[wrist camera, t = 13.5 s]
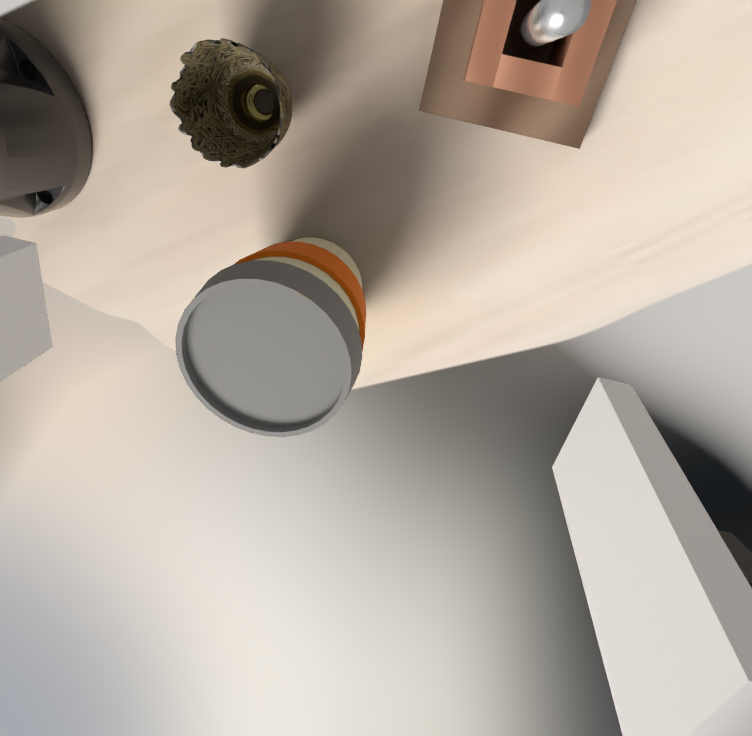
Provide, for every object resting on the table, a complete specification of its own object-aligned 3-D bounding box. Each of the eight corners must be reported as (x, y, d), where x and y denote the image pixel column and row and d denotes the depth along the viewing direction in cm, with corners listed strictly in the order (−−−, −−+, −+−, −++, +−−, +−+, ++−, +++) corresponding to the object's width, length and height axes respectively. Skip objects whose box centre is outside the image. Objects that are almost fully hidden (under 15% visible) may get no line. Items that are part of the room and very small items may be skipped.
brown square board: (420, 109, 38) (419, 110, 37) (466, -99, 32) (466, -107, 30) (574, 146, 38) (579, 148, 36) (650, -56, 32) (660, -62, 30)
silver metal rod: (508, 46, 34) (537, 30, 23) (518, 11, 33) (553, -25, 22) (537, 53, 34) (580, 40, 23) (548, 18, 33) (598, -14, 22)
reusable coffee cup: (399, 328, 47) (381, 421, 34) (281, 358, 51) (224, 453, 38) (355, 196, 42) (312, 248, 29) (225, 239, 45) (136, 303, 32)
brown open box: (463, 80, 35) (465, 80, 30) (493, -45, 32) (502, -69, 27) (560, 102, 35) (579, 106, 30) (602, -21, 32) (631, -41, 26)
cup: (248, 21, 37) (201, 7, 30) (329, 91, 38) (303, 94, 31) (202, 111, 40) (151, 118, 33) (279, 172, 42) (245, 191, 35)
